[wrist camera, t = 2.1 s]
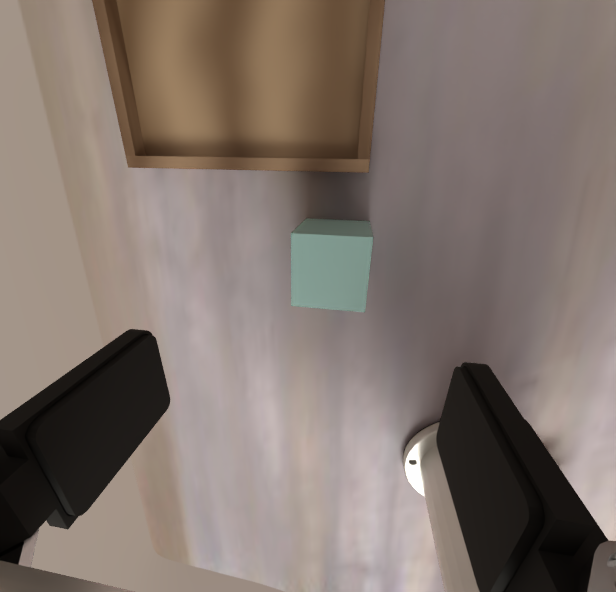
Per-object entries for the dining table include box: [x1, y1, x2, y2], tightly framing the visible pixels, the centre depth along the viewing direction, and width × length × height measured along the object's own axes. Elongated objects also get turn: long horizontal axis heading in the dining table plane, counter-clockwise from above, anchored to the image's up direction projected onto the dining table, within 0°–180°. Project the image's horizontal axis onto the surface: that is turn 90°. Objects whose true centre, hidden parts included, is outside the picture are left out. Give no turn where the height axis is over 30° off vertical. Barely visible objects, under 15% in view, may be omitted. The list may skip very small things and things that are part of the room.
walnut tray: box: [92, 0, 385, 173], centre depth 18 cm, size 18×18×2 cm
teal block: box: [291, 218, 373, 312], centre depth 21 cm, size 5×5×6 cm
